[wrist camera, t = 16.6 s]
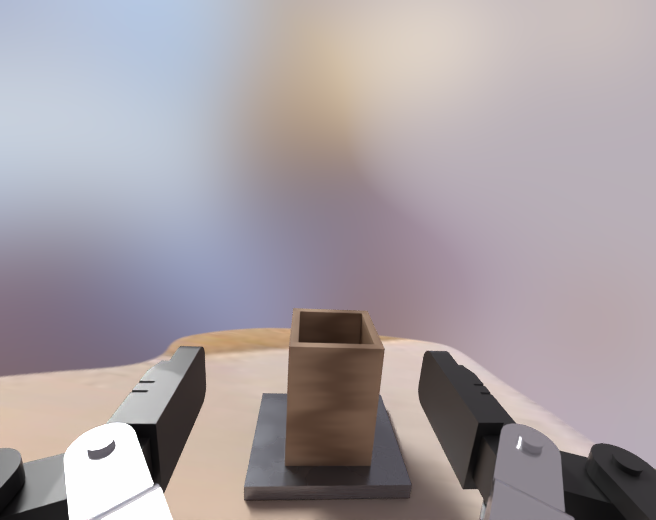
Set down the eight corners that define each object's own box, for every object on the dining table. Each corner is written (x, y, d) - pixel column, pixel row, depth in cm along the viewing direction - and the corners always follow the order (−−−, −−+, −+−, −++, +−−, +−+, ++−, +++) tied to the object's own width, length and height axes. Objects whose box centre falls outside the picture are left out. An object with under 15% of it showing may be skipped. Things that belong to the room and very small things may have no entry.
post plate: (244, 500, 23) (244, 400, 21) (262, 403, 32) (264, 329, 30) (409, 497, 23) (424, 402, 22) (379, 404, 33) (388, 333, 31)
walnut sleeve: (284, 466, 24) (289, 346, 22) (289, 405, 30) (293, 308, 28) (370, 465, 25) (384, 349, 22) (357, 406, 31) (367, 311, 29)
